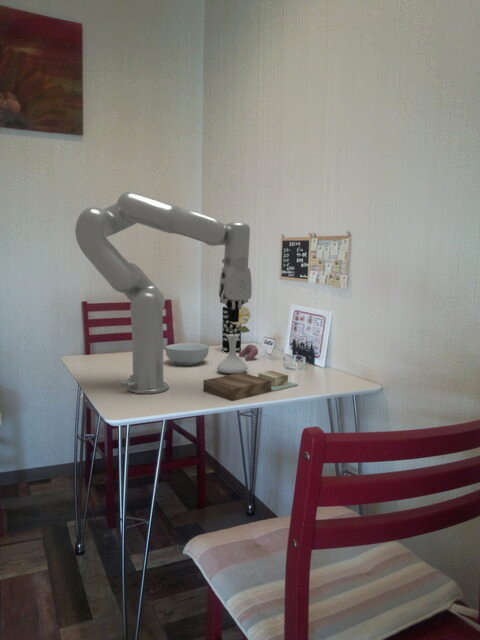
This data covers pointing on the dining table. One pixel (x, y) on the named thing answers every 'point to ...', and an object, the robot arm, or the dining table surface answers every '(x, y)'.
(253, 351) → the pink curved arch
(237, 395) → the serving board
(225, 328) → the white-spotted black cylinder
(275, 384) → the beige block
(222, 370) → the flower in vase
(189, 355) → the cereal bowl
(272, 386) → the rubber mat
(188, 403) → the dining table surface
